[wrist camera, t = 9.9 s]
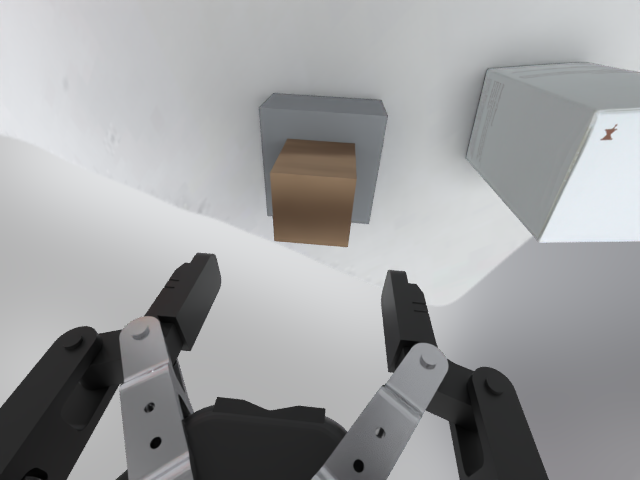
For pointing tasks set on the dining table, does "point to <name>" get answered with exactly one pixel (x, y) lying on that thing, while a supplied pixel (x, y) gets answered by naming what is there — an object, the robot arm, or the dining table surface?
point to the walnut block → (313, 192)
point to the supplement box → (563, 149)
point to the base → (327, 136)
